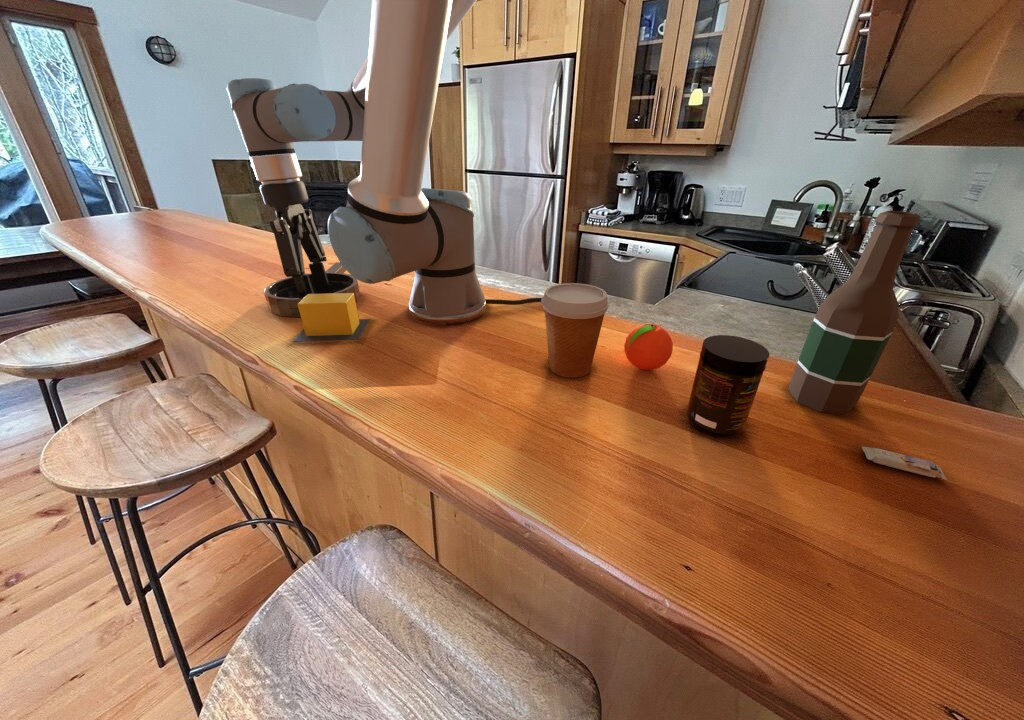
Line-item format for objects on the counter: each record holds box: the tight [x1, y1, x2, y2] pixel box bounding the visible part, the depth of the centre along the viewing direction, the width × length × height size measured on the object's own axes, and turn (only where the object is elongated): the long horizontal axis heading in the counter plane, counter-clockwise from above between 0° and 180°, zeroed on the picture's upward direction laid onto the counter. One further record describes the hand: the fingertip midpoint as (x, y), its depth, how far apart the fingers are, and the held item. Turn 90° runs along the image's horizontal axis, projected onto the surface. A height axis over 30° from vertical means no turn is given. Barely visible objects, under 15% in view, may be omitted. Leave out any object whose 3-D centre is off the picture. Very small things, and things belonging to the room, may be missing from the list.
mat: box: [292, 318, 371, 343], centre depth 74 cm, size 11×9×1 cm
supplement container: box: [685, 334, 770, 439], centre depth 48 cm, size 7×7×10 cm
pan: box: [263, 272, 361, 318], centre depth 86 cm, size 18×18×4 cm
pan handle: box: [325, 261, 347, 273], centre depth 98 cm, size 3×11×2 cm, turn 4°
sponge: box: [298, 293, 360, 336], centre depth 73 cm, size 8×5×6 cm, turn 94°
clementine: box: [623, 323, 674, 371], centre depth 61 cm, size 8×7×7 cm
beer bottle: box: [788, 210, 921, 415], centre depth 50 cm, size 8×8×24 cm
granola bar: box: [861, 445, 948, 481], centre depth 44 cm, size 7×2×1 cm, turn 63°
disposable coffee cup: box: [540, 282, 610, 379], centre depth 60 cm, size 10×10×12 cm
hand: (317, 299), depth 86 cm, fingers open, 8 cm apart
